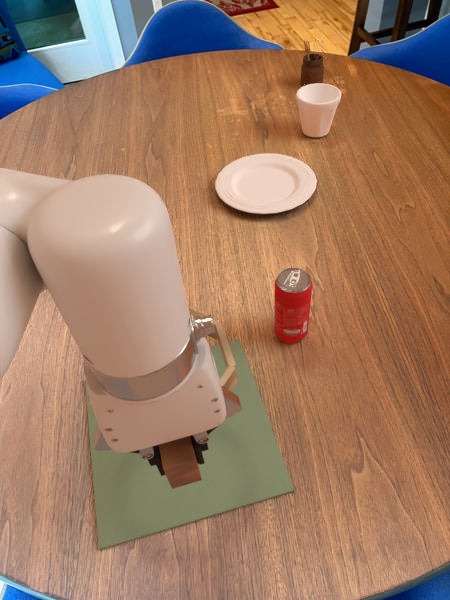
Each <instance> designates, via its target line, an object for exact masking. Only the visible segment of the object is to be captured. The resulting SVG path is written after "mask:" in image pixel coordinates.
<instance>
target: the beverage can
mask: <svg viewBox="0 0 450 600" xmlns="http://www.w3.org/2000/svg"><path fill="white" fill-rule="evenodd" d="M312 293H313V281H312V278H311V276H310V274H309V272H307V271H305V270H304V269H302V268H299V267H288V268H284V269H282V270H281V271H280V272H278V274H277V276H276V278H275V280H274V295H273V296H274V299H273V300H274V301H273V302H274V304H273V305H274V307H273V310H274V311H273V315H274V316H273V331H274V334H275V335H276V336H277V338H278V339H279V341H281V342H282V343H283V344H287V345H297V344H299V343H300V342H302V341H303V340H304V338H306V336H307V335H308V332H309V326H310V314H311V303H312Z"/></svg>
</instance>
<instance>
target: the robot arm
mask: <svg viewBox="0 0 450 600" xmlns="http://www.w3.org/2000/svg"><path fill="white" fill-rule="evenodd" d="M46 290H47V291H48V292H49V294H50V296H51V298H52V300H53V301H54V304H55V305H56V307H57V309H58V311H59V313H60V315H61V317H62V319H63V320H64V323H65V324H66V326H67V328H68V330H69V332H70V334H71V336H72V338H73V340H74V342H75V343H76V345H77V347H78V350H79V351H80V353H81V354H82V357H83V362H82V363H83V373H84V381H85V380H86V384H87V389H88V394H89V398H90V401H91V405H92V408H93V411H94V413H95V416H96V419H97V422H98V426H97V429H96V431H95V433H94V447H95V450H97V451H103V450H114V451H116V452H119V453H126V452H131V453H139V454H140V455H141V458H142V459H144V460H148V462H149V464H150V466H154V465H156V466H157V468H158V470H159V472H160V475H161V476H163V475H166V474H165V472H164V470H163V466H162V461H161V455H160V450H159V444H163V443H166V442H170V441H173V440H177V439H180V438H184V437H187V436H190V437H191V441H192V445H193V449H194V453H195V456H196V459H197V463H198V464H200V465H201V464H204V463H205V462H204V458H203V454H202V451H206V450H209V448H208V444H207V442H208V441H209V440H210V438H209V435H208V434H210V433H211V432H212V431H213V430H214V429H216V428H217V427H218V426H219V425H220V424H222V422H223V421H224V419H227V418H228V417H230V416H232V415H234V414H235V413H237V412H239V411H240V410H241V409H242V407H241V404H240V401H239V397H238V396H237V395H236V394H234V393H233V392H231V391H229V390H228V389H226V388H225V387H223V386H222V385H221V383H220V379H219V375H218V372H217V368H216V364H215V361H214V357H213V354H212V351H211V349H210V347H211V346H210V344H209V341H208V340H207V338H206V336H207V335H209V334H212V333H215V330H214V325H213V321H212V318H213V317H212V315H211V314H208V315H207V316H204V317H200V316H196V317H194V314H190V313H189V309H190V308H189V303H188V298H187V293H186V289H185V283H184V278H183V273H182V269H181V265H180V260H179V254H178V250H177V244H176V240H175V235H174V231H173V225H172V221H171V217H170V214H169V211H168V208H167V206H166V203H165V202H164V200H163V199H162V198H161V196H160V195H159V194H158V192H157V191H156V190H155V189H154V188H153V187H151V186H149V185H148V184H147V183H146V182H144V181H142V180H140V179H137V178H134V177H132V176H127V175H122V174H112V173H111V174H110V173H106V174H105V173H103V174H95V175H89V176H85V177H81V178H77V179H75V180H72V179H65V178H59V177H52V176H46V175H43V174H37V173H32V172H28V171H27V172H26V171H23V170H17V169H11V168H6V167H0V381H2V379H3V378H4V376H5V375H6V373H8V370H9V369H10V366H11V364H12V362H13V360H14V358H15V356H16V354H17V351H18V349H19V346H20V344H21V342H22V339H23V336H24V334H25V331H26V329H27V327H28V324H29V322H30V319H31V317H32V314H33V312H34V310H35V306H36V304H37V302H38V300H39V297H40V295H41V294H42V293H44V291H46ZM211 317H212V318H211Z"/></svg>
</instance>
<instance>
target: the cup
mask: <svg viewBox="0 0 450 600" xmlns="http://www.w3.org/2000/svg"><path fill="white" fill-rule="evenodd" d="M341 99H342V91H341V90H340V89H339V87H337V86H335V85H333V84H330V83H323V82H322V83H315V84H309V85H306V86H301V87H300V88H299V89H297V90H296V94H295V101H296V106H297V110H298V115H299V121H300V126H301V131H302V134H303V135H304V136H306V137H308V138H310V139H320V138H324V137H326V136H328V134H329V133H330V129H331V127H332V123H333V121H334V117H335V115H336V112H337V108H338V105H339V104H340V102H341Z"/></svg>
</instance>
